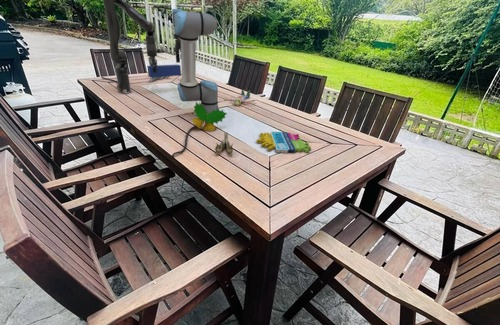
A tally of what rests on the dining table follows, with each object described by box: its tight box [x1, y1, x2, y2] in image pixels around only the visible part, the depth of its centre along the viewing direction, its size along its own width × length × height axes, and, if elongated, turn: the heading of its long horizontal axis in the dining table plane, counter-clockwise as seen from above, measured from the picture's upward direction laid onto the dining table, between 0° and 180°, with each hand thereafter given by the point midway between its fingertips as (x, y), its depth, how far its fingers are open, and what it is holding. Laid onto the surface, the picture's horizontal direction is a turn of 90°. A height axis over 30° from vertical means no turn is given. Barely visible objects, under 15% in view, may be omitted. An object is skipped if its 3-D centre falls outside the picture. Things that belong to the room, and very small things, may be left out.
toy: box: [223, 89, 257, 106], centre depth 219 cm, size 28×7×30 cm
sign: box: [256, 131, 312, 154], centre depth 152 cm, size 26×2×30 cm
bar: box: [147, 64, 182, 78], centre depth 222 cm, size 27×5×8 cm, turn 127°
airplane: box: [146, 71, 171, 83], centre depth 274 cm, size 38×31×10 cm
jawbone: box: [214, 131, 234, 156], centre depth 136 cm, size 9×15×10 cm
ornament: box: [191, 101, 228, 132], centre depth 162 cm, size 21×8×15 cm, turn 105°
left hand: (153, 71), depth 217 cm, fingers closed on bar, 5 cm apart
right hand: (180, 64), depth 201 cm, fingers open, 13 cm apart
